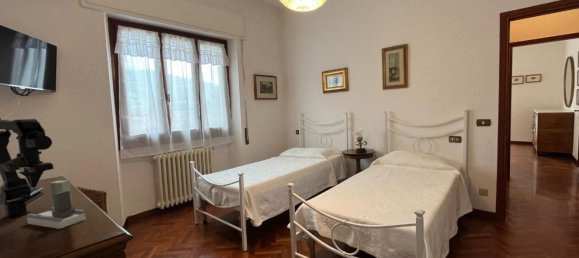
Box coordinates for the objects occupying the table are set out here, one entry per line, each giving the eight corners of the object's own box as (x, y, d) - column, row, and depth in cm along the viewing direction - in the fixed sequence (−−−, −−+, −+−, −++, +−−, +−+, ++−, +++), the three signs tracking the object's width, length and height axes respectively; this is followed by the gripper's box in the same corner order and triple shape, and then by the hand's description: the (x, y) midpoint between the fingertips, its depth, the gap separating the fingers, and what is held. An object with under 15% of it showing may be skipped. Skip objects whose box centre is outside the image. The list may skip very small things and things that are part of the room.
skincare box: (73, 205, 129) (70, 179, 129) (64, 208, 125) (61, 182, 124) (61, 205, 130) (58, 180, 129) (52, 208, 126) (49, 182, 125)
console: (27, 223, 108) (26, 213, 108) (54, 215, 117) (53, 206, 116) (59, 228, 101) (58, 218, 101) (85, 219, 109) (84, 209, 109)
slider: (52, 216, 105) (49, 193, 105) (66, 212, 110) (64, 190, 109) (60, 218, 104) (58, 194, 103) (75, 213, 108) (72, 190, 108)
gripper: (-11, 153, 108) (-6, 192, 109) (17, 153, 101) (21, 194, 102) (25, 148, 118) (29, 184, 119) (52, 148, 111) (56, 186, 112)
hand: (33, 187), depth 113 cm, fingers closed
